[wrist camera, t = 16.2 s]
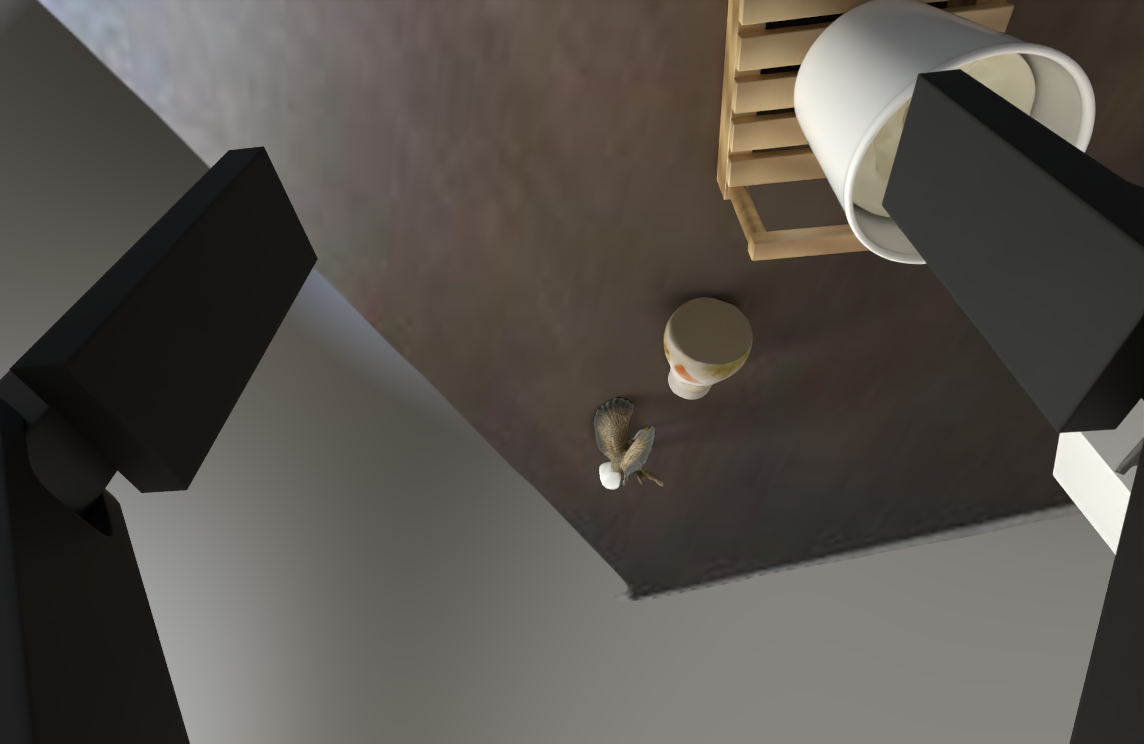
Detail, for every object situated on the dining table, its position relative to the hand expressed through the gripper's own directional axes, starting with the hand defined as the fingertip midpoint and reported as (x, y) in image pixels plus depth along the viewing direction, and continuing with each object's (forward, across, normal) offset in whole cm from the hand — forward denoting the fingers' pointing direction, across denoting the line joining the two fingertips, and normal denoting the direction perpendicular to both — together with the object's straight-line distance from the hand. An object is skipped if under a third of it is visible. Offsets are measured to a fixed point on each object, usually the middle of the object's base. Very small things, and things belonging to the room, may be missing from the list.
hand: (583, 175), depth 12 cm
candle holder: (+25, +16, -8) cm, 31 cm away
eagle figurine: (+29, +1, -42) cm, 51 cm away
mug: (+29, +8, -30) cm, 42 cm away
